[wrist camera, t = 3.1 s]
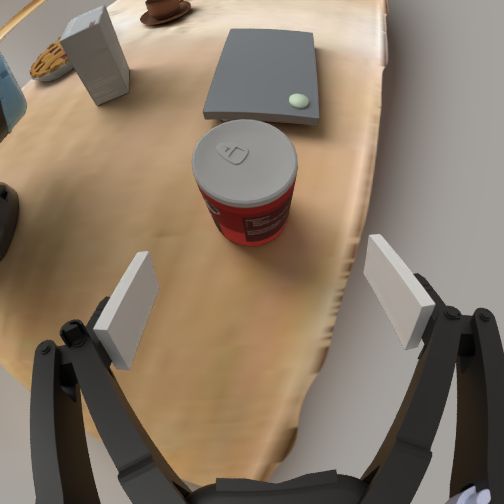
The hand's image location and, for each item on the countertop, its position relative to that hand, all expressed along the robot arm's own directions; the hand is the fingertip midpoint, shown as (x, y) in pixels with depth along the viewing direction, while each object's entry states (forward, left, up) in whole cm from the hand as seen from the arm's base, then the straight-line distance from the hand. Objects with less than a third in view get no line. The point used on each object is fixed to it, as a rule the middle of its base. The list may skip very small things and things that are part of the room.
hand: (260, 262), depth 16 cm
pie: (-51, +49, -13) cm, 72 cm away
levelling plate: (-2, +31, -12) cm, 33 cm away
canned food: (-2, +8, -12) cm, 15 cm away
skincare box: (-28, +31, -12) cm, 44 cm away
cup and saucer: (-27, +58, -13) cm, 65 cm away
